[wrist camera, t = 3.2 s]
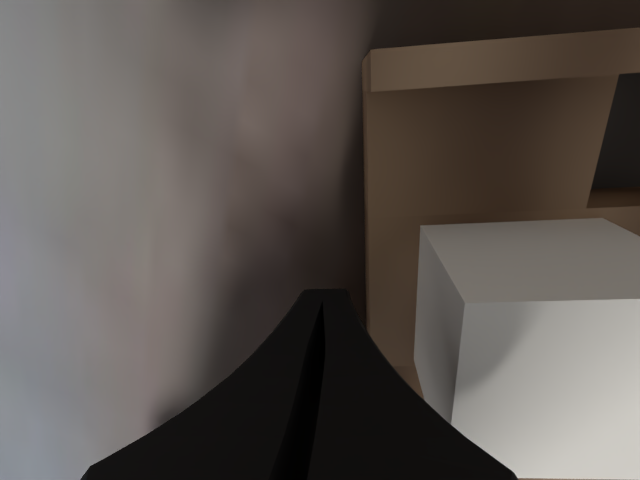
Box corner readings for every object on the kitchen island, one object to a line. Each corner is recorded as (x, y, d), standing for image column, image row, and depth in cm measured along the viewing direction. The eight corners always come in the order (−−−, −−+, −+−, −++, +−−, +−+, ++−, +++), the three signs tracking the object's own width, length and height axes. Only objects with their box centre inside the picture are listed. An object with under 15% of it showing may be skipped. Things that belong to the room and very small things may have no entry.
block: (413, 359, 12) (445, 476, 8) (420, 225, 10) (465, 302, 6) (564, 357, 12) (666, 480, 8) (602, 217, 10) (760, 295, 6)
